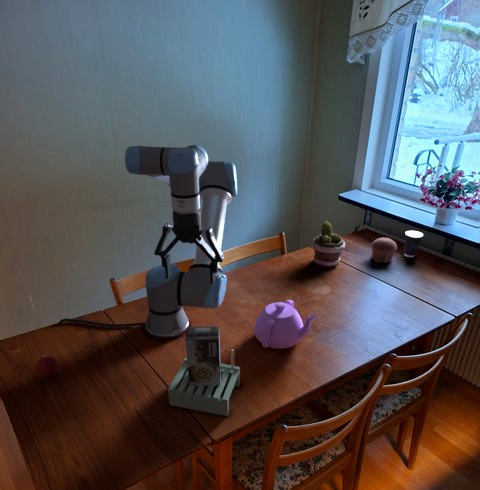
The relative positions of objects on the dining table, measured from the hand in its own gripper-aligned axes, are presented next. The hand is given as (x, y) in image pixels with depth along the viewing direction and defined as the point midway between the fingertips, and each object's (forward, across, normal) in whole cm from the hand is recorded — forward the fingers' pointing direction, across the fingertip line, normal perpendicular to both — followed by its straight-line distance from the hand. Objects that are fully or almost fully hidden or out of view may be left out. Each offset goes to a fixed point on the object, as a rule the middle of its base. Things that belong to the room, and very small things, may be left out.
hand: (190, 279), depth 132 cm
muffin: (+31, +64, +91) cm, 115 cm away
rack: (+28, +9, -18) cm, 34 cm away
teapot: (+29, +28, +14) cm, 42 cm away
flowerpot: (+31, +38, +80) cm, 94 cm away
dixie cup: (+31, +77, +98) cm, 128 cm away
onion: (+28, -40, -21) cm, 53 cm away
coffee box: (+22, +9, -18) cm, 30 cm away
